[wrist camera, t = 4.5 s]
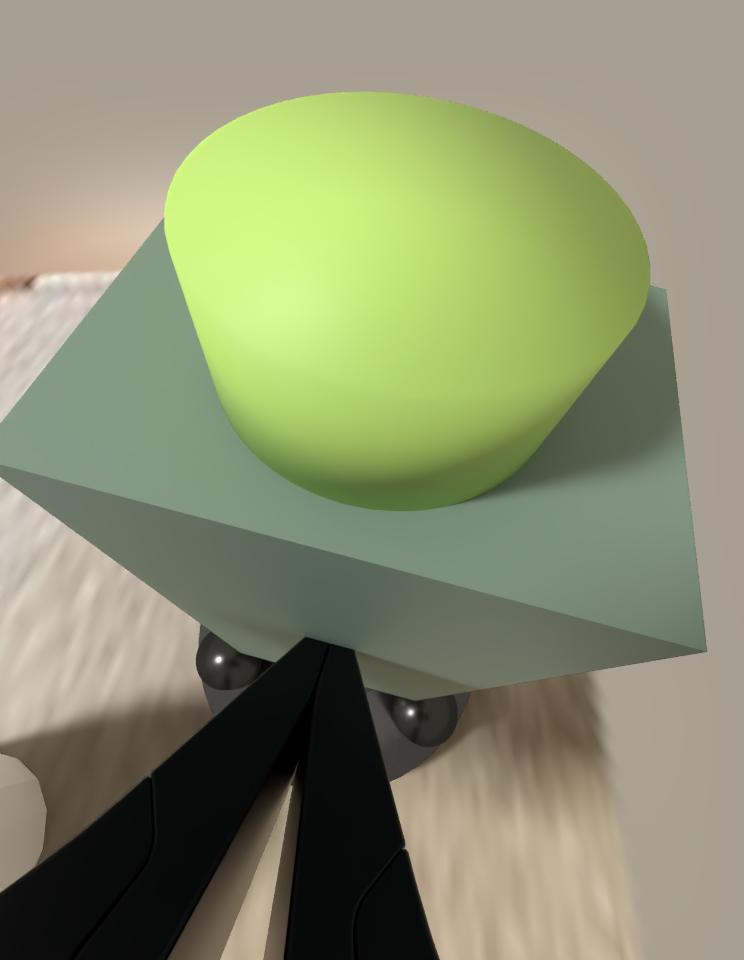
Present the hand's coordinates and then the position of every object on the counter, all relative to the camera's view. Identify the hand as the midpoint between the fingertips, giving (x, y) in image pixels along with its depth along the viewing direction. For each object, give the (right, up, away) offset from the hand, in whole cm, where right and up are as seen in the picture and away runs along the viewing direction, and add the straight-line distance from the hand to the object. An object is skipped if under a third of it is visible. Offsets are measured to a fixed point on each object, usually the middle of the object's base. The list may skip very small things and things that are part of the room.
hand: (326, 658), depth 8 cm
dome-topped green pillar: (0, -1, +9) cm, 9 cm away
